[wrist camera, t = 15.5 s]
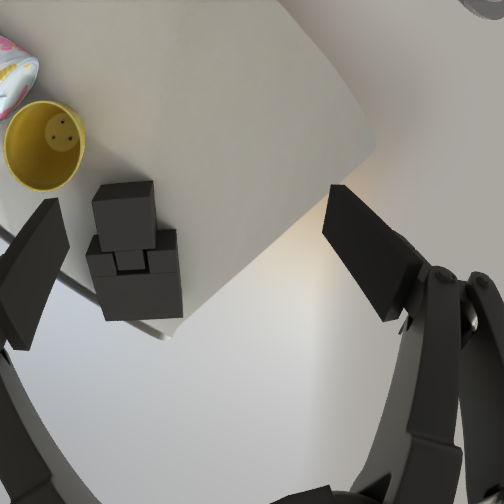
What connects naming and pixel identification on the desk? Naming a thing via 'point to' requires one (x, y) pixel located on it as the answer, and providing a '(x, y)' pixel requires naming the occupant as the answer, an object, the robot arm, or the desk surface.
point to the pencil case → (14, 76)
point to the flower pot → (44, 145)
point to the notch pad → (138, 282)
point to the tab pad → (126, 221)
